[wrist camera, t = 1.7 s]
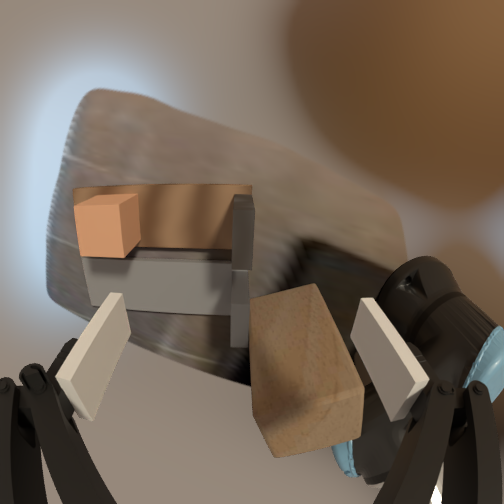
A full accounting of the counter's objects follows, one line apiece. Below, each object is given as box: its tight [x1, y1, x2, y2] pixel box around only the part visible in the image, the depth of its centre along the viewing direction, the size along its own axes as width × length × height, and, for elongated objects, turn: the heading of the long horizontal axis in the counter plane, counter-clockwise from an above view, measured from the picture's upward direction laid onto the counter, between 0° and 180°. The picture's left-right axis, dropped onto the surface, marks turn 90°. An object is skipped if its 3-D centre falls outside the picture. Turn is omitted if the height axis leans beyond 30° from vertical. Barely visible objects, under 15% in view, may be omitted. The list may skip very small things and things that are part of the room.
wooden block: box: [249, 284, 365, 458], centre depth 32 cm, size 10×10×20 cm
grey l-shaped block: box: [82, 256, 250, 347], centre depth 34 cm, size 24×8×9 cm, turn 87°
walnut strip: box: [73, 184, 255, 270], centre depth 30 cm, size 24×8×9 cm, turn 87°
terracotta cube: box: [74, 194, 141, 258], centre depth 30 cm, size 6×6×6 cm
